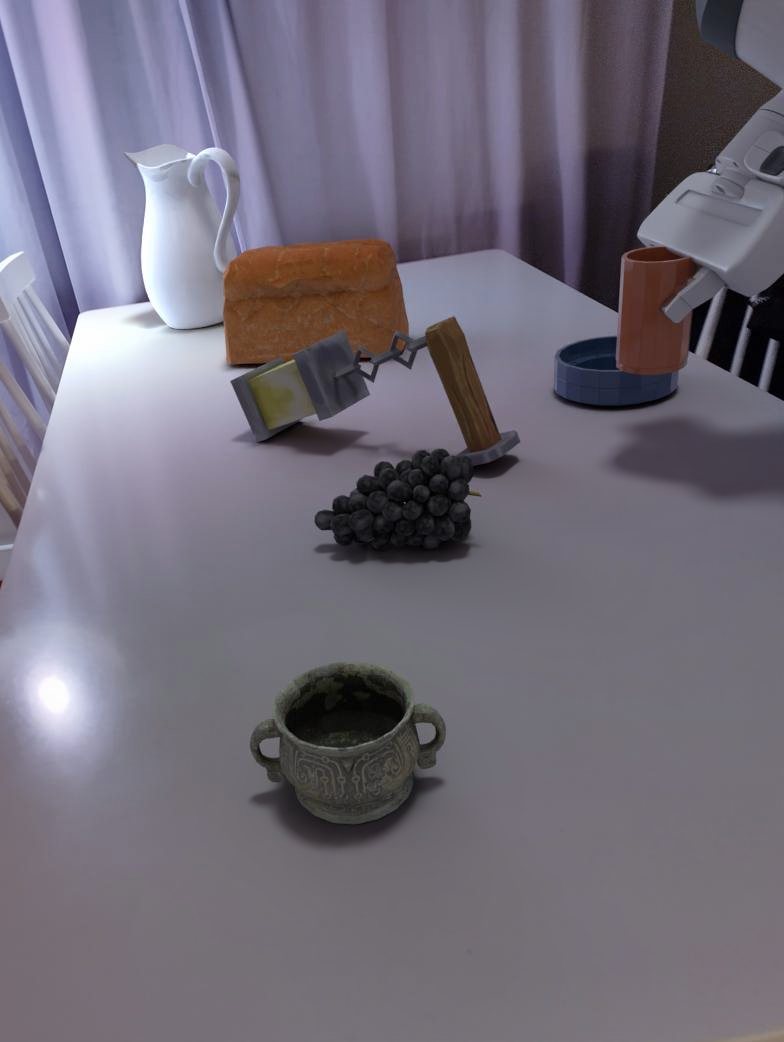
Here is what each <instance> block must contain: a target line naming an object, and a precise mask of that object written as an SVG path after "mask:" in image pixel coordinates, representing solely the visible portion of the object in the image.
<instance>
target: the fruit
mask: <svg viewBox="0 0 784 1042" xmlns="http://www.w3.org/2000/svg"><path fill="white" fill-rule="evenodd" d="M473 478H474V466H473V464H472V459H470V458H469V457H467V456H466V455H460V456H458V457H456V455H450V453H449V452H448V450H446V449H444V448H436V449H434V450H432V452H431V453H430V452H429V451H428V450H426V449H420V450H417V451H415V453H414V454H413V455H412V456H411V460H410V459H403V460H401V461H400V462H398V463H396V466H395V467H394V465H393V464H392V463H390V462H389V461H384V460H381V461H379V462H377V464H375V466H374V469H373V475H368V474H363V475H362V476H359V477H358V479H357V481H356V487H355V488H354V489H353V490H351V491H350V493H349V496H347V495H343V494H342V495H337V496H336V497H335V498H333V500H332V505H331V509H332V510H331V509H321V510H319V511H317V512H316V514H315V515H314V525H315V527H317V528H318V529H319V530H320V531H332V533H333V539H334V541H335V543H336V544H338V545H340V546H343V547H347V546H350V545H352V543H353V542H354V543H355V544H358V545H359V544H360V545H364V544H366V543H367V542H370V541H371V543H372V546H373V548H375V549H376V550H381V551H384V550H386V549H387V548H388V547H389V546H390V544H391V542H392V544H393V545H395V546H396V547H403V546H405V545H409V546H414V547H415V546H416V547H417V546H420V545H422V547H424V548H425V549H427V550H434V549H438V547H439V545H440V544H441V542H447V541H448V540H450V539H452V540H453V541H455V542H463V541H464V540H467V539H468V538H469V536H470V533H471V530H472V520H471V514H472V513H471V512H472V510H471V507H470V506H469V504H468V503H467V502H466V501H465V500H466V498H467V497H468V496H472V497H473V496H474V497H480V498H481V497H483V496H482V494H480V492H477V491H472V490H470V484H469V483H470V482H471V481H472V479H473Z"/></svg>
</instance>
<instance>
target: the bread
mask: <svg viewBox="0 0 784 1042" xmlns="http://www.w3.org/2000/svg"><path fill="white" fill-rule="evenodd" d="M237 256H238V257H237V258H235V259H234V260H233V261H231V262H230V263H229V265H228V266H227V268H226V270H225V271H224V273H223V281H224V283H223V296H224V297H225V299H224V307H223V329H224V339H225V354H226V356H225V357H226V363H227V364H229V365H231V366H232V365H234V366H235V365H245V364H266V363H268V362H271V361H273V360H275V359H278V358H280V357H281V358H282V360H283V363H286V362H289V361H291V360H294V358H293V356H292V355H293V354H295V353H297V352H299V351H301V350H303V349H305V348H308V347H310V346H312V345H314V344H316V343H318V342H320V341H322V340H324V339H326V338H328V337H330V336H332V335H335V334H337V333H339V332H342V331H344V330H345V332H346V334H347V337H348V339H349V342H350V344H351V347H352V350H353V352H354V355H356V352H357V348H358V345H361V346H362V347H364V348H366V349H367V350H369V351H371V352H372V353H374V354H376V355H378V354H380V353H382V352H385V351H387V350H389V349H390V346H391V343H392V340H393V336H394V333H395V330H398V331H399V332H401V333H403V334H404V335H406V336H408V337H409V338H410V328H409V327H410V326H409V325H410V324H409V319H408V315H407V309H406V304H405V303H406V302H405V297H404V290H403V288H404V287H403V284H402V280H401V277H400V274H399V271H398V266H397V265H398V264H397V256H396V254H395V252H394V250H393V248H392V246H391V244H390V242H388V241H385V240H382V239H379V238H361V239H346V240H341V241H331V242H330V241H329V242H300V243H296V244H291V245H272V246H271V245H267V246H262V247H257V248H251V249H247V250H244V251H243V252H241V253H240V254H239V255H237ZM406 345H407V342H405V341H404V340H402V339H400V338H398V342H397V345H396V348H398V349H399V350H401V352H402V351H403V350H404V349H405V347H406ZM360 359H371V358H370V357H369V356H367V355H365V354H364V353H361V356H360Z"/></svg>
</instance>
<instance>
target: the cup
mask: <svg viewBox="0 0 784 1042" xmlns="http://www.w3.org/2000/svg"><path fill="white" fill-rule="evenodd" d="M620 260H621V261H620V262H621V263H620V279H619V296H618V297H619V298H618V314H617V332H616V336H617V345H616V366H617V368H618V369H619V370H621V371H624V372H627V373H632V374H639V375H658V374H666V373H671V372H675V371H678V370H679V371H680V370H682V369H684V368H685V367H686V366H687V365H688V358H689V353H690V343H691V333H692V323H693V314H694V309H692V310H691V311H690V312H689V313H688V314H687V315H686V316H685V317H684V318H683V319H682V321H681V322H679V323H674V322H672V321H671V320H669V319H668V318H666V317H665V315H663V314H662V313H661V312H660V307H661V305H662V304H663V303H664V302H666V300H667V298H668V297H669V296H670V295H671V294H672V293H674V294H678V293H679V292H680V291H681V290H683V289H684V288H685V287H686V286H688V285H689V284H690V283H692V282H693V281H694V278H693V277H694V276H695V274H696V273H697V264H696V263H694V262H692V260H691V257H690V256H688V257H686V258H682V257H680V256H678V255H675V254H673V253H670V252H669V251H668V250H667V249H666V246H654V247H646V246H644V247H640V248H636V249H632V250H629V251H627V252H624V253H623V255H622V256H621V259H620Z"/></svg>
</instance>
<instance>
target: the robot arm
mask: <svg viewBox="0 0 784 1042" xmlns="http://www.w3.org/2000/svg"><path fill="white" fill-rule="evenodd" d="M695 13H696V20H697V26H698V30H699V34H700V37H701V40H702V41H703V42H704V43H705V44H706V43H707V44H708V45H710V46H712V47H714V48H715V49H718V50H719V51H721V52H723V53H725V54H727V55H728V56H730V57H733V58H734V59H735V60H738V61H742V62H744V63H745V64H747V65H748V66H750V67H751V68H753V69H755V71H756V72H758V73H760V74H761V75H762V76H764V77H765V78H766V79H768V80H769V81H771V82H772V83H773V84H775V85H776V86H777V87H779V88H780V89H781V90H780V91H779V92H778V93H777V94H776V95H775V96H774V97H772V98H770V99H769V100H768V101H766V102H765V103H764V104H763V105H761V106H760V107H759V108H758V109H757V111H756V112H755V113H754V114H753V115H752V116H751V117H750V119H749V120H748V121H747V122H746V123H745V124H744V125H743V127H742V128H740V130H739V131H738V132H737V134H736V135H735V136H734V137H733V138H732V139H731V140H730V142H729V143H728V144H727V145H726V146H725V147H724V149H723V150H722V151H721V152H719V154H718V155H717V156H716V158H715V161H714V163H715V164H714V165H712V167H711V168H710V169H707V170H706V171H701V172H695V173H692V174H690V175H689V176H687V177H686V178H685V179H683V180H682V181H681V182H680V183H679V184H678V185H677V186H676V187H674V188H673V189H672V191H671V192H670V193H669V194H668V195H667V196H666V197H664V199H663V200H662V201H661V202H660V203H659V204H657V206H656V207H655V208H654V209H653V210H652V211H651V213H649V215H648V216H647V217H646V218H645V219H644V220H643V222H642V223H641V224H640V226H639V229H638V231H637V233H636V237H637V239H638V240H639V241H640V242H641V244H643V245H644V247H654V246H666V249H667V250H668V251H669V252H670V253H673V254H675V255H678V256H680V257H682V258H686V257H688V256H690V257H691V260H692V262H694V263H696V264H697V273H696V274H695V276H694V277H693V278H694V281H693V282H692V283H690V284H689V285H688V286H686V287H685V288H684V289H683V290H681V291H680V292H679V293H678V294H674V293H672V294H671V295H670V296H669V297H668V298H667V300H666V302H664V303H663V304H662V305H661V307H660V312H661V313H662V314H663V315H665V317H666V318H668V319H669V320H671V321H672V322H674V323H679V322H681V321H682V319H683V318H684V317H685V316H686V315H687V314H688V313H689V312H690V311H691V310H692V309H693V310H695V308H697V307H699V306H701V305H702V304H704V303H705V302H707V301H709V300H711V299H712V298H714V297H715V296H716V295H717V294H718V293H719V292H720V291H721V290H722V289H723V288H727V289H729V290H732V291H733V292H736V293H738V294H741V295H742V296H745V297H747V298H752V297H754V296H756V295H759V294H760V293H761V292H763V291H765V290H767V289H768V288H769V287H771V286H772V285H773V284H774V283H776V281H777V280H778V279H779V278H781V276H783V275H784V0H695Z"/></svg>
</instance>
